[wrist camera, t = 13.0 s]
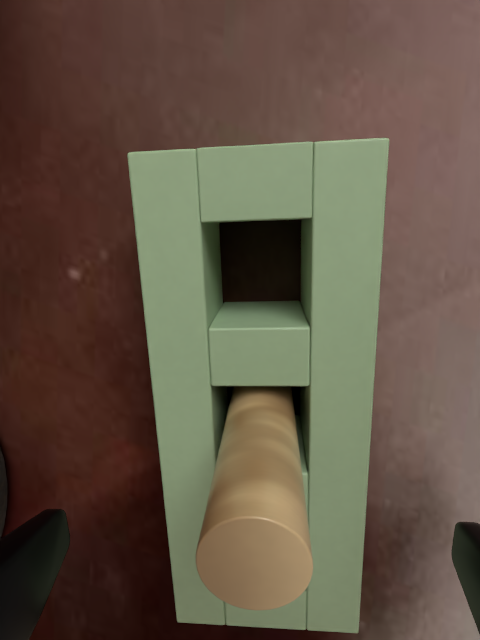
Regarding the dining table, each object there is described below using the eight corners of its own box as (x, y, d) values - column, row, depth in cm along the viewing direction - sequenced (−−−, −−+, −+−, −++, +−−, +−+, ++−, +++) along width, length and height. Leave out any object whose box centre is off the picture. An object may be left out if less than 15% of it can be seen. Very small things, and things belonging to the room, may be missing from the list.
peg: (290, 354, 16) (314, 519, 7) (290, 405, 16) (313, 615, 8) (234, 355, 16) (190, 515, 7) (236, 405, 16) (198, 608, 8)
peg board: (355, 161, 13) (390, 136, 10) (339, 546, 18) (359, 634, 14) (165, 170, 14) (126, 151, 10) (196, 540, 19) (176, 623, 15)
